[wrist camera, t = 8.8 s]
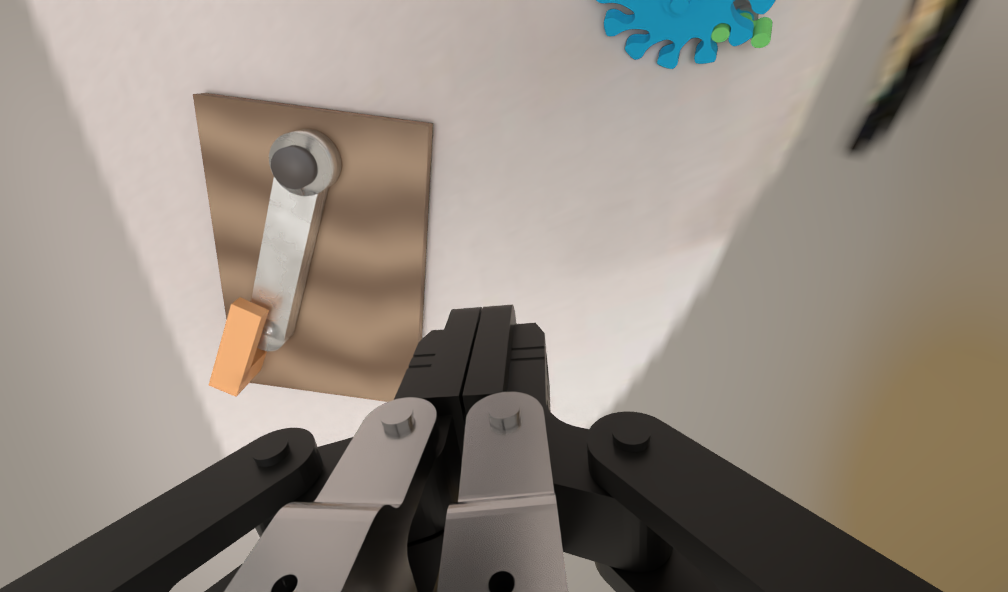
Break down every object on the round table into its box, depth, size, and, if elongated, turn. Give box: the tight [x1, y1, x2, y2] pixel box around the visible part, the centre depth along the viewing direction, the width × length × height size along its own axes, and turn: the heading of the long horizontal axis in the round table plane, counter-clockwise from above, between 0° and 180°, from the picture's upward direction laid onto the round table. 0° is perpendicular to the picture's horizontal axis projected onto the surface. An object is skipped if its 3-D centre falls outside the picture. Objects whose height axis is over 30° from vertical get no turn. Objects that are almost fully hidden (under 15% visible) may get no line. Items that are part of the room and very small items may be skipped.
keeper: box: [209, 297, 269, 396], centre depth 41 cm, size 9×2×4 cm, turn 153°
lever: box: [251, 129, 341, 351], centre depth 38 cm, size 19×4×2 cm, turn 158°
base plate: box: [193, 93, 433, 402], centre depth 39 cm, size 25×17×5 cm
